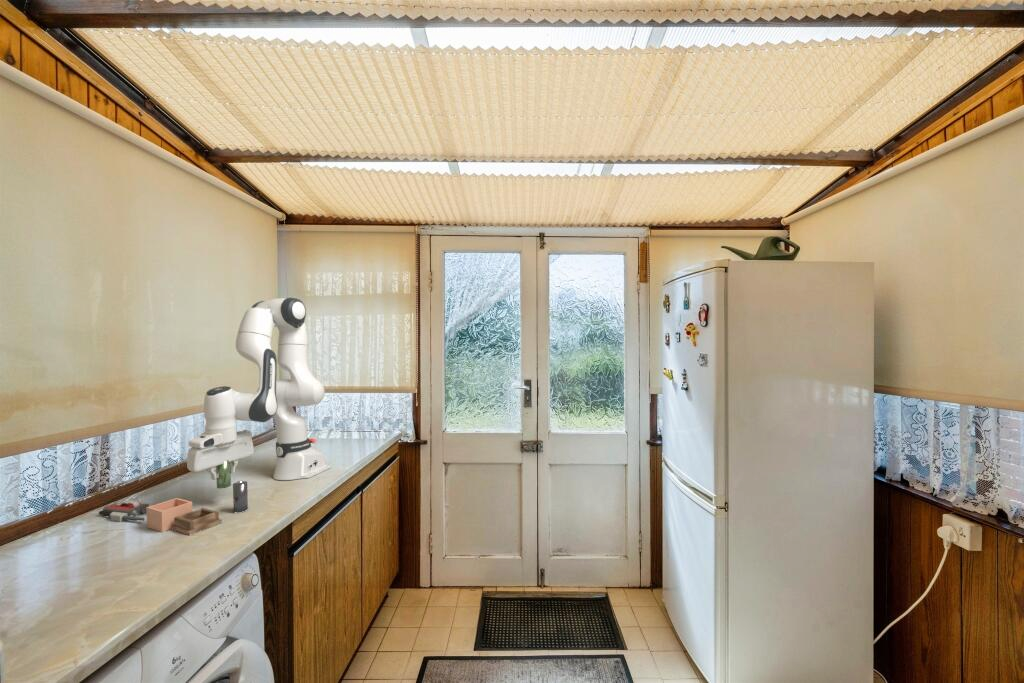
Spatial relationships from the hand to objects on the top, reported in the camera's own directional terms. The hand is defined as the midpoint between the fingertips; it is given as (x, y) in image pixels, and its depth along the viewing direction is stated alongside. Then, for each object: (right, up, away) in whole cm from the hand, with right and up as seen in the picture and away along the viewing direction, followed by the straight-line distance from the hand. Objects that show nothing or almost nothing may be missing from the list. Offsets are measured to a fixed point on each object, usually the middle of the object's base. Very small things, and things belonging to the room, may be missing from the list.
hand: (223, 476), depth 149 cm
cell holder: (+3, -10, -16) cm, 19 cm away
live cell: (0, -4, 0) cm, 4 cm away
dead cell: (+9, -10, -5) cm, 14 cm away
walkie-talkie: (-25, -11, -8) cm, 28 cm away
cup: (-7, -10, -15) cm, 19 cm away
